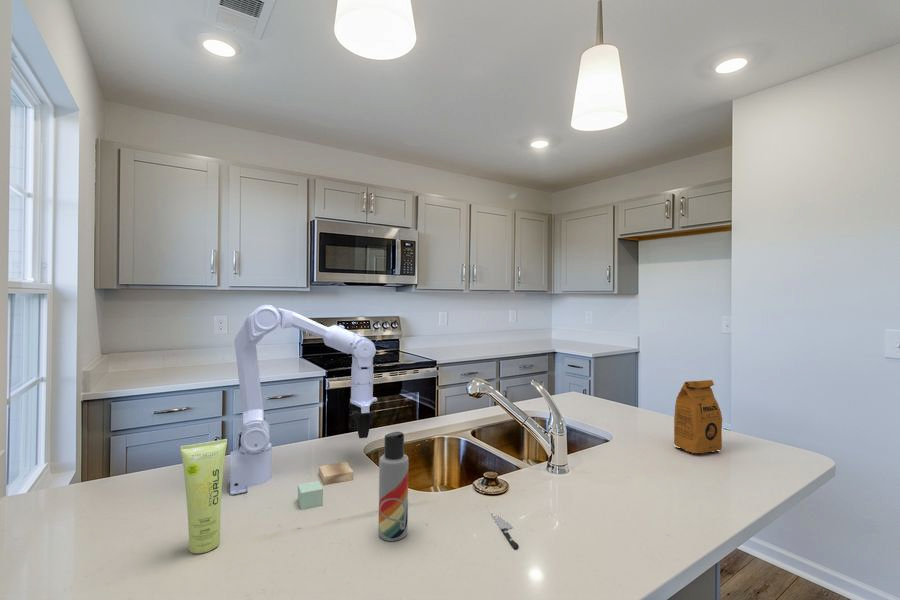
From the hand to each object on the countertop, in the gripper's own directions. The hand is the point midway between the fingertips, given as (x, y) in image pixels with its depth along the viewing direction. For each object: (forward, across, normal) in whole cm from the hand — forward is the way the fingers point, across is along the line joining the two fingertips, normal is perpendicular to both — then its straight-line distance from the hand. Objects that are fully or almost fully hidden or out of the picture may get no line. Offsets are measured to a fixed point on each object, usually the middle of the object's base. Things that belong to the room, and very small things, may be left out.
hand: (361, 433), depth 115 cm
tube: (+10, -27, +32) cm, 43 cm away
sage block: (+10, -18, +13) cm, 24 cm away
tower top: (+9, -6, +7) cm, 13 cm away
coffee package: (+10, -15, -102) cm, 103 cm away
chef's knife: (+10, -36, -25) cm, 45 cm away
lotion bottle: (+10, -33, -2) cm, 34 cm away
